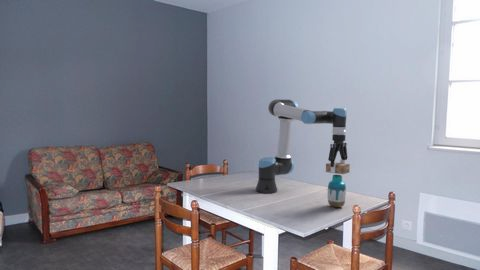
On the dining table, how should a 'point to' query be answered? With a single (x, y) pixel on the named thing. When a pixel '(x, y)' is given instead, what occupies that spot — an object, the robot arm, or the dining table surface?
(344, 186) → the vase
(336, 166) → the brown rectangular block
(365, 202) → the dining table surface
